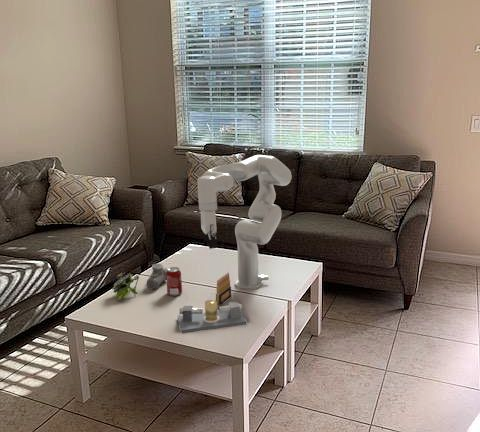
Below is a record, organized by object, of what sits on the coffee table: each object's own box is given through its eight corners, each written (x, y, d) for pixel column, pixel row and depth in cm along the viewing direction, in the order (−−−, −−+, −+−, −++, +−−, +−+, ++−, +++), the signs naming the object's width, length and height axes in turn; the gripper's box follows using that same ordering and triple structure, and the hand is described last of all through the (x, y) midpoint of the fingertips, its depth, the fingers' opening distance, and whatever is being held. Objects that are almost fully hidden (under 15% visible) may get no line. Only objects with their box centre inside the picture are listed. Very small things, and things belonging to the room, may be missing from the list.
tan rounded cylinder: (204, 316, 207) (203, 300, 206) (216, 314, 209) (215, 299, 207) (206, 321, 203) (206, 305, 201) (218, 320, 204) (218, 304, 202)
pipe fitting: (154, 278, 250) (153, 259, 246) (169, 281, 248) (169, 262, 244) (143, 290, 240) (142, 271, 235) (159, 293, 238) (158, 274, 233)
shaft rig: (239, 311, 215) (238, 297, 213) (246, 324, 203) (246, 310, 202) (177, 319, 209) (176, 305, 207) (181, 333, 197) (180, 318, 196)
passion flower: (122, 305, 237) (127, 276, 241) (143, 305, 231) (148, 276, 236) (104, 299, 226) (109, 270, 231) (125, 299, 221) (130, 269, 225)
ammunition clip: (219, 306, 220) (218, 280, 217) (216, 305, 221) (215, 279, 218) (231, 296, 229) (230, 271, 226) (227, 295, 230) (227, 271, 227)
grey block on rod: (203, 316, 208) (202, 305, 207) (202, 321, 204) (201, 310, 202) (181, 316, 208) (180, 305, 207) (179, 321, 204) (179, 310, 202)
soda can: (179, 297, 230) (178, 272, 226) (165, 296, 231) (163, 271, 228) (184, 291, 236) (182, 266, 233) (170, 290, 237) (168, 266, 234)
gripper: (195, 201, 218) (197, 239, 223) (203, 212, 202) (206, 252, 208) (212, 199, 220) (214, 236, 225) (221, 210, 204) (224, 249, 209)
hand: (210, 244), depth 216 cm, fingers open, 9 cm apart
